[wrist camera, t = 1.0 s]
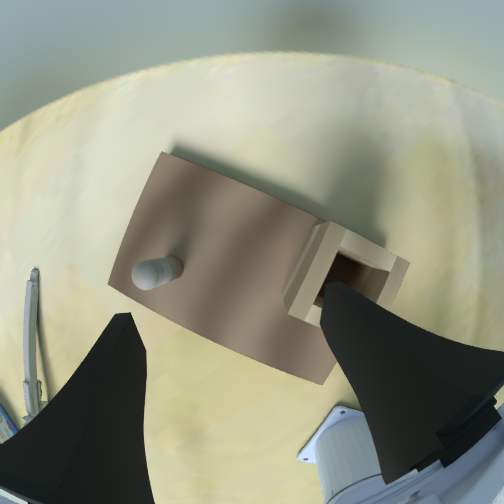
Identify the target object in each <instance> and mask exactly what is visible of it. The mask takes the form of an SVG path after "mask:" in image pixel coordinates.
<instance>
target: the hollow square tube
mask: <svg viewBox="0 0 504 504" xmlns="http://www.w3.org/2000/svg"><path fill="white" fill-rule="evenodd" d="M336 254H339V255H341V256H343V257H345V258H347V259H349V260H351V261H353V262H355V263H357V265H356V267H355V270H354V272H353V274H352V276H351V278H350V281H349V283H348V285H347V286H349V287H351V288H352V289H354V290H356V291H357V292H359V293H360V294H362V295H364V296H365V297H367V298H368V299H370V300H372V301H373V302H375V303H376V304H378V305H380V306H381V307H383V308H385V309H386V310H388V311H389V309H390V307H391V305H392V303H393V301H394V299H395V297H396V294H397V292H398V290H399V288H400V285H401V283H402V281H403V278H404V276H405V274H406V271H407V269H408V266H409V264H410V263H409V262H408V261H406V260H404V259H402V258H401V257H399V256H397V255H395V254H393V253H392V252H390V251H388V250H386V249H384V248H382V247H381V246H379V245H377V244H375V243H373V242H371V241H369V240H368V239H366V238H364V237H362V236H360V235H358V234H356V233H354V232H352V231H350V230H348V229H346V228H344V227H342V226H340V225H338V224H336V223H334V222H332V221H328V222H325V223H322V224H319V225H316V226H313V227H312V228H311V230H310V232H309V235H308V237H307V239H306V241H305V244H304V246H303V248H302V250H301V252H300V255H299V257H298V259H297V261H296V263H295V265H294V267H293V270H292V272H291V274H290V276H289V278H288V280H287V282H286V284H285V287H284V289H283V291H282V293H281V294H282V297H283V300H284V304H285V307H286V310H287V314H289V315H292V316H294V317H296V318H299V319H301V320H303V321H305V322H308V323H310V324H313V325H315V326H317V327H320V328H321V326H320V324H319V323H320V317H321V311H322V305H323V299H324V297H321V296H319V295H317V294H318V292H319V290H320V288H321V286H322V284H323V282H324V280H325V278H326V275H327V273H328V271H329V269H330V267H331V265H332V262H333V260H334V258H335V256H336Z"/></svg>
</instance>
